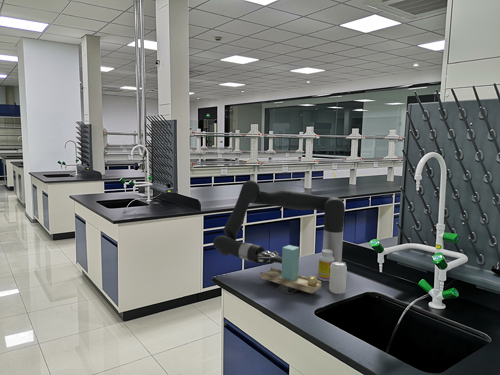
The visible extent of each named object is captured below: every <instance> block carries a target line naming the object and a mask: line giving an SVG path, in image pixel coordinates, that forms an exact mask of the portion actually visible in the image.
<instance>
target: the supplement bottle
mask: <svg viewBox="0 0 500 375" xmlns="http://www.w3.org/2000/svg"><path fill="white" fill-rule="evenodd" d="M332 254H333V251H332V250H328V249H324V250H323V249H322V250H321V255H320V256H319V258H318V274H317V276H318V277H317V279H318V280H319V281H321V282H330V266H331V264H332V261H335V259H334V257H333V256H332Z"/></svg>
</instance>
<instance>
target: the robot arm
mask: <svg viewBox="0 0 500 375" xmlns="http://www.w3.org/2000/svg"><path fill="white" fill-rule="evenodd" d="M250 204H253V205H266V206H267V205H268V206H273V207H280V208H285V209H289V210H295V211H297V210H298V211H308V210H309V211H310V210H313V211H319V212H323V213H324V219H323V220H324V221H323V237H322V238H323V240H322V250H324V249H328V250H332V251H333V254H332V256H333V257H334V259H335V261H342V258H343V256H342V255H343V240H344V239H343V238H344V227H345V212H346V207H345V203H344V201H343V200H342V199H341V198H340V197H336V196H325V195H324V196H322V195H315V194H311V193H307V192H303V191H297V190H292V189H282V190H277V191H266V190H261V189H260V185H259V183H258V182H257V181H255V180H253V179H251V180H246V181H245V182H243V184H242V186H241V188H240V191H239V195H238V197H237V201H236V203H235V204H234V205H235V206H234V208H233V209H232V212H231V214H230V216H229V217H228V220H227V222H226V224H225V226H224V228H223V233H224V235H223V234H222V235H217V236H216V237H215V238H214V239H213V241H212V244H213V247H214V249H216V251H217V252H218V253H220V255H222V256H225V257H226V256H228V255H231V256H233V257H236V258H238V259H243V260H245V261H248V262H252V263H256V264H267V265H268V264H271V265H272V264H276V263H278V264H280V265H282V256H280V255H281V254H280V253H279V252H278V251H277V250H272V252H271V251H269V250H265V249H264V246H261V245H258V244H254V243H249V242H248V243H247V242H243V241H237V237H238V234H239V232H240V229H241V228H242V226H243V223H244V221H245V217H246V213H247V210H248V207H249V206H250Z"/></svg>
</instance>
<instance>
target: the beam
mask: <svg viewBox="0 0 500 375" xmlns="http://www.w3.org/2000/svg"><path fill="white" fill-rule="evenodd" d="M281 274H282V269H278V268H274V267H270V269H269V270H267V271H264V272H260V279H263V280H265V281H270V282H273V283H275V284H279V285H281V284H282V285H285V286H289V287H292V288H295V289H298V291H302V292H306V293H309V294H313V293H315V292H316V291H318V290H319V289H321V288H322V280H320V279H317V286H316V287H311V286H308V277H309V276H303V275H301V274H300V275H299V274H298V278H297V279H295V280H294V281H290V280H287V279H283V278H281Z"/></svg>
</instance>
